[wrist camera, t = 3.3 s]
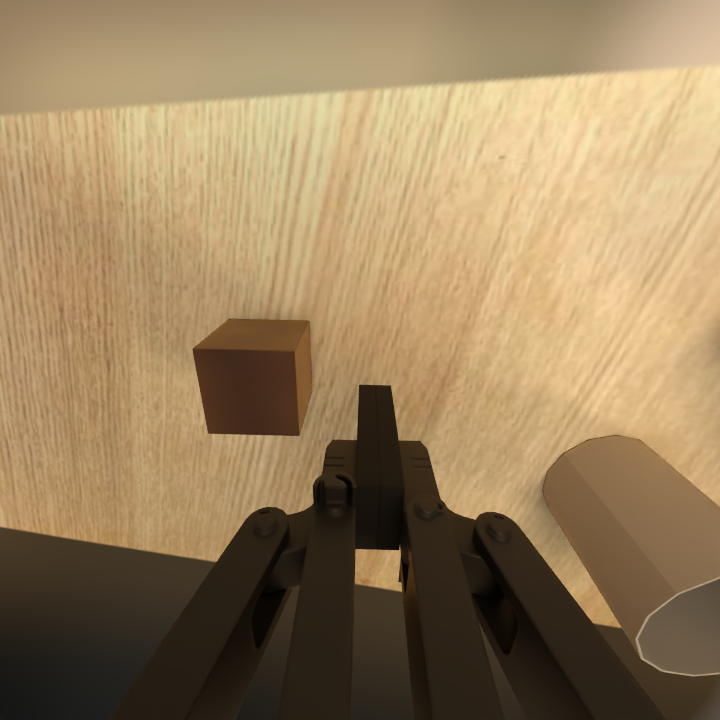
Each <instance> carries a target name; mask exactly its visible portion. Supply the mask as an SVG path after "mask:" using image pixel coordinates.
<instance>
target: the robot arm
mask: <svg viewBox="0 0 720 720" xmlns="http://www.w3.org/2000/svg"><path fill="white" fill-rule="evenodd" d="M313 499H314V504H313V505H312V506H310V507H309V508H307V509H306V510H304V511H301V512H298V513H294V514H290V515H287V514H286V513H285V512H284V511H283V510H281V509H279V508H276V507H266V508H262V509H259V510H257V511H255V512H253V513H252V514H251V515H250V516H249V517H248V518H247V519H246V520H245V521H244V523H243V524H242V526H241V527H240V529H239V530H238V532H237V533H236V535H235V536H234V537H233V539H232V540H231V542H230V543H229V545H228V546H227V548H226V549H225V551H224V552H223V553H222V555H221V556H220V558H219V559H218V561H217V562H216V564H215V565H214V567H213V568H212V569H211V571H210V573H209V574H208V575H207V577H206V578H205V580H204V581H203V583H202V584H201V586H200V587H199V588H198V590H197V591H196V593H195V594H194V596H193V597H192V599H191V600H190V602H189V603H188V605H187V606H186V607H185V609H184V610H183V612H182V613H181V615H180V616H179V618H178V619H177V620H176V622H175V623H174V625H173V626H172V628H171V629H170V631H169V632H168V634H167V635H166V636H165V638H164V639H163V641H162V642H161V644H160V645H159V647H158V648H157V650H156V651H155V652H154V654H153V656H152V657H151V658H150V660H149V661H148V663H147V664H146V666H145V667H144V668H143V670H142V671H141V673H140V674H139V676H138V678H137V679H136V680H135V682H134V683H133V684H132V686H131V687H130V689H129V690H128V692H127V693H126V695H125V696H124V698H123V699H122V700H121V702H120V703H119V705H118V706H117V708H116V710H115V711H114V712H113V714H112V715H111V717H110V718H109V719H108V720H235V718H236V716H237V714H238V711H239V709H240V707H241V705H242V702H243V700H244V698H245V695H246V693H247V691H248V689H249V686H250V684H251V681H252V679H253V677H254V675H255V673H256V670H257V668H258V666H259V664H260V661H261V659H262V657H263V654H264V652H265V650H266V648H267V645H268V643H269V641H270V638H271V636H272V634H273V631H274V629H275V627H276V625H277V622H278V620H279V618H280V616H281V613H282V611H283V609H284V606H285V604H286V602H287V600H288V597H289V595H290V593H291V591H292V587H293V586H297V585H300V590H299V596H298V601H297V607H296V613H295V618H294V624H293V630H292V636H291V642H290V647H289V653H288V659H287V665H286V671H285V676H284V682H283V688H282V694H281V700H280V706H279V711H278V717H277V720H351V691H352V653H353V618H354V584H355V549H377V550H399V547H400V549H401V561H400V571H399V582H402V593H403V604H404V615H405V626H406V637H407V647H408V658H409V669H410V680H411V691H412V701H413V712H414V720H505V719H504V715H503V712H502V708H501V704H500V701H499V697H498V693H497V689H496V686H495V682H494V678H493V675H492V671H491V668H490V664H489V660H488V656H487V652H486V649H485V645H484V641H483V637H482V634H481V630H480V626H479V623H480V625H481V627H482V629H483V631H484V633H485V635H486V637H487V639H488V641H489V643H490V645H491V647H492V649H493V651H494V653H495V655H496V657H497V659H498V661H499V663H500V665H501V667H502V669H503V671H504V673H505V675H506V677H507V679H508V681H509V684H510V685H511V687H512V690H513V692H514V694H515V696H516V698H517V700H518V702H519V704H520V706H521V708H522V710H523V712H524V714H525V716H526V718H527V720H666V719H665V717H664V716H663V715H662V713H661V712H660V711H659V709H658V708H657V707H656V705H655V704H654V703H653V701H652V700H651V699H650V698H649V696H648V695H647V694H646V693H645V691H644V690H643V688H642V687H641V686H640V685H639V683H638V682H637V681H636V679H635V678H634V677H633V675H632V674H631V673H630V671H629V670H628V669H627V668H626V666H625V665H624V664H623V662H622V661H621V660H620V658H619V657H618V656H617V655H616V653H615V652H614V651H613V649H612V648H611V647H610V645H609V644H608V643H607V641H606V640H605V639H604V637H603V636H602V635H601V634H600V632H599V631H598V630H597V628H596V627H595V626H594V624H593V623H592V622H591V620H590V619H589V618H588V616H587V615H586V614H585V613H584V611H583V610H582V609H581V607H580V606H579V605H578V603H577V602H576V601H575V599H574V598H573V597H572V596H571V594H570V593H569V592H568V590H567V589H566V588H565V586H564V585H563V584H562V582H561V581H560V580H559V578H558V577H557V576H556V575H555V573H554V572H553V571H552V569H551V568H550V567H549V565H548V564H547V563H546V561H545V560H544V559H543V558H542V556H541V555H540V554H539V552H538V551H537V550H536V548H535V547H534V546H533V544H532V543H531V542H530V541H529V539H528V538H527V537H526V535H525V534H524V533H523V531H522V530H521V529H520V527H519V526H518V525H517V524H516V523H515V522H514V521H513V520H512V519H510V518H508V517H507V516H505V515H503V514H499V513H496V512H485V513H483V514H480V515H479V516H478V517H477V519H476V520H474V519H470V518H467V517H463V516H461V515H458V514H456V513H454V512H452V511H451V510H449V509H448V508H447V507H446V505H445V503H444V502H443V501H442V500H441V499H440V496H439V493H438V489H437V485H436V481H435V477H434V473H433V469H432V465H431V461H430V457H429V453H428V450H427V448H426V447H425V446H424V445H423V444H422V443H421V441H398V434H397V426H396V419H395V412H394V405H393V398H392V391H391V386H385V385H359V406H358V431H357V440H332V441H331V443H330V444H329V445H328V446H327V448H326V453H325V459H324V466H323V471H322V475H321V476H319V477H318V478H317V479H316V480H315V482H314V485H313ZM478 620H479V623H478Z"/></svg>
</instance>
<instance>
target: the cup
mask: <svg viewBox="0 0 720 720" xmlns="http://www.w3.org/2000/svg"><path fill="white" fill-rule="evenodd" d="M543 494H544V497H545V499H546V502H547V505H548V507H549V509H550V511H551V512H552V514H553V516H554V517H555V519H556V520H557V522H558V524H559V525H560V527H561V529H562V530H563V532H564V534H565V535H566V537H567V539H568V540H569V542H570V543H571V545H572V547H573V548H574V550H575V552H576V553H577V555H578V557H579V558H580V560H581V561H582V563H583V565H584V566H585V568H586V570H587V571H588V573H589V575H590V576H591V578H592V579H593V581H594V583H595V584H596V586H597V588H598V589H599V591H600V593H601V594H602V596H603V597H604V599H605V601H606V602H607V604H608V606H609V607H610V609H611V611H612V612H613V614H614V615H615V617H616V619H617V620H618V622H619V624H620V625H621V627H622V629H623V630H624V632H625V633H626V635H627V637H628V638H629V640H630V642H631V643H632V645H633V646H634V648H635V650H636V651H637V653H638V655H639V656H640V658H641V659H642V660H644V661H645V662H647V663H649V664H650V665H652V666H654V667H655V668H657V669H658V670H660V671H662V672H668V673H675V674H682V675H688V676H702V675H711V674H720V507H719V506H718V505H717V504H716V503H714V502H713V501H712V500H711V499H710V498H709V497H707V496H706V495H705V494H704V493H703V492H701V491H700V490H699V489H698V488H697V487H695V486H694V485H693V484H692V483H691V482H690V481H688V480H687V479H686V478H685V477H684V476H682V475H681V474H680V473H679V472H678V471H677V470H675V469H674V468H673V467H672V466H671V465H669V464H668V463H667V462H666V461H665V460H663V459H662V458H661V457H660V456H659V455H658V454H656V453H655V452H654V451H653V450H652V449H650V448H649V447H648V446H647V445H646V444H645V443H643V442H642V441H641V440H637V439H632V438H627V437H623V436H618V435H614V436H609V437H603V438H597V439H591V440H587V441H586V442H584V443H582V444H580V445H578V446H576V447H574V448H573V449H571V450H569V451H567V452H565V453H564V454H563V455H562V456H561V457H560V458H559V459H558V460H557V461H556V463H555V464H554V465H553V466H552V467H551V468H550V469H549V471H548V472H547V475H546V479H545V483H544V487H543Z"/></svg>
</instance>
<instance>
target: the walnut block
mask: <svg viewBox="0 0 720 720" xmlns="http://www.w3.org/2000/svg"><path fill="white" fill-rule="evenodd" d="M193 355H194V360H195V365H196V371H197V376H198V381H199V387H200V392H201V397H202V403H203V408H204V413H205V419H206V424H207V429H208V433H209V434H245V435H285V436H299V435H300V432H301V429H302V425H303V422H304V419H305V415H306V412H307V408H308V405H309V401H310V398H311V394H312V370H311V345H310V322H309V321H295V320H253V319H229V320H227V321H226V322H225V323H224V324H222V325H221V326H220V327H219V328H217V329H216V330H215V331H214V332H213V333H211V334H210V335H209V336H208V337H206V338H205V339H204V340H203V341H201V342H200V343H199V344H198V345H197V346H195V347H194V348H193Z"/></svg>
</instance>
